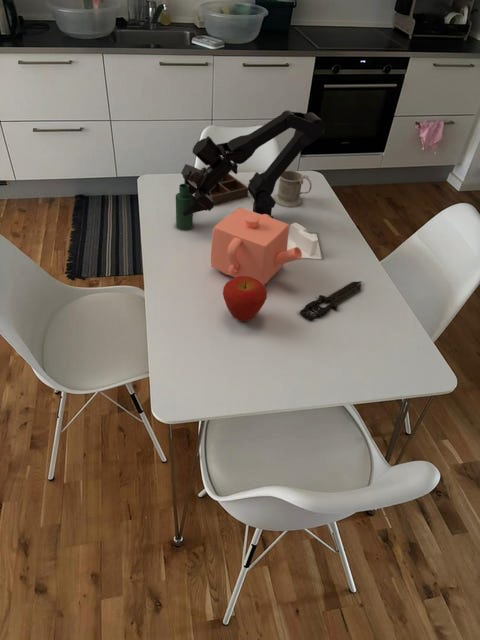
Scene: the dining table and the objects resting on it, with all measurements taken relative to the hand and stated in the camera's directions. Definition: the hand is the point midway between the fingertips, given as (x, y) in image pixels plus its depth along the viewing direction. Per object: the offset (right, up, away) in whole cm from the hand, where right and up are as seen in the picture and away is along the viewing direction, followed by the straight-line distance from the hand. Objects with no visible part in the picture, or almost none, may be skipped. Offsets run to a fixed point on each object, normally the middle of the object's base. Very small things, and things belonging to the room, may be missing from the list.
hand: (180, 207), depth 163 cm
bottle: (+1, -5, +5) cm, 7 cm away
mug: (+39, +7, +22) cm, 45 cm away
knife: (+46, -31, -20) cm, 59 cm away
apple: (+20, -36, -28) cm, 49 cm away
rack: (+11, +11, +24) cm, 29 cm away
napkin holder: (+39, -12, +1) cm, 41 cm away
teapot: (+25, -23, -13) cm, 36 cm away
